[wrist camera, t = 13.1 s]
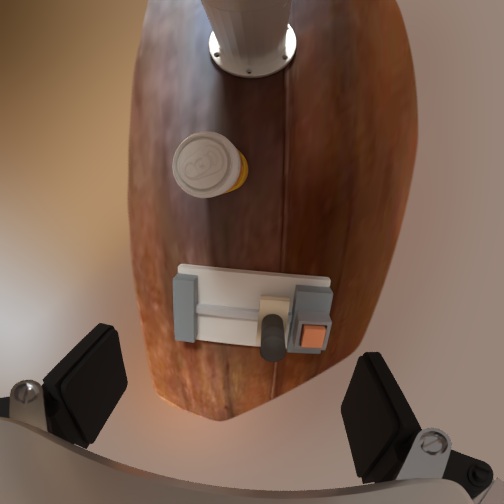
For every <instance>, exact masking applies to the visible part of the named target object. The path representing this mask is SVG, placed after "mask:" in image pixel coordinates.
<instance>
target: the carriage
mask: <svg viewBox="0 0 504 504" xmlns="http://www.w3.org/2000/svg"><path fill="white" fill-rule="evenodd" d="M289 306H290V299H289V297H278V296H267V295H260V304H259V315H258V324H257V334H256V343H261V347H260V354H261V356H262V358H263V359H265V360H266V361H269V362H277V361H280V360H281V359H283V358H284V356H285V354H286V346H285V332H286V326H287V319H288V312H289Z"/></svg>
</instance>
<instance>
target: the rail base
mask: <svg viewBox="0 0 504 504" xmlns="http://www.w3.org/2000/svg"><path fill="white" fill-rule="evenodd" d="M330 282H331V280H330V278H329V277H322V276H310V275H297V274H286V273H274V272H263V271H252V270H241V269H231V268H220V267H210V266H200V265H190V264H180V265H179V266H178V274H177V275H176V276H175V277H174V278H173V308H174V330H175V340H179V341H185V342H192V343H194V342H195V339H197V340H204V341H212V342H220V343H228V344H238V345H248V346H259V347H261V343H256V334H257V324H258V315H259V304H260V295H267V296H278V297H289V299H290V306H289V312H288V319H287V326H286V332H285V346H286V349H287V352H289V353H311V354H320V352H321V350H326V346H327V342H328V337H329V333H330V329H331V325H332V321H331V319H330V316H329V313H330V308H331V303H332V298H333V292H332V290H331V289H330ZM302 324H309V325H324V326H325V329H326V333H325V337H324V341H323V345H322V348H312V347H301V342H300V334H301V329H302Z"/></svg>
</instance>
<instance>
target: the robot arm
mask: <svg viewBox="0 0 504 504" xmlns="http://www.w3.org/2000/svg"><path fill="white" fill-rule="evenodd" d="M201 2H202V4H203V7H204V9H205V12H206V14H207V17H208V19H209V22H210V24H211V27H212V29H213V31H212V33H211V35H210V39H209V51H210V54H211V56H212V58H213V60H214V61H215V63H216V64H217V65H218V66H219V67H220V68H221V69H223V70H224V71H226V72H227V73H230V74H232V75H234V76H238V77H242V78H261V77H265V76H269V75H272V74H274V73H276V72H278V71H280V70H282V69H283V68H284V67H285V66H286V65H288V63H289V62H290V61H291V60H292V58H293V56H294V53H295V50H296V36H295V33H294V31H293V29H292V28H291V26H290V25H289V24H288V22H289V15H290V7H291V0H201ZM217 56H219V57H217ZM283 59H286V60H283ZM248 72H251V74H248ZM43 382H44V384H43V385H42V386H41V385H40V384H39V383H38V382H36V381H33V380H24V381H20V382H18V383H17V384H15V385H14V386H13V388H12V389H11V393H10V397H4V398H0V504H504V482H503V481H502V480H500V479H499V478H496V479H495V480H494V479H493V471H492V469H491V467H490V466H489V465H488V464H487V463H485V462H484V461H481V460H478V459H475V458H472V457H470V456H467V455H464V454H461V453H459V452H456V451H454V450H451V445H452V443H451V440H450V438H449V436H448V435H447V434H446V433H445V432H443V431H442V430H440V429H436V428H427V429H423V430H422V429H421V427H420V425H419V423H418V421H417V419H416V417H415V415H414V413H413V412H412V409H411V408H410V406H409V404H408V402H407V400H406V398H405V396H404V395H403V393H402V391H401V389H400V387H399V386H398V384H397V382H396V380H395V378H394V377H393V375H392V373H391V371H390V369H389V368H388V366H387V364H386V362H385V361H384V359H383V357H382V356H381V354H380V353H379V352H366V353H364V354H363V356H360V357H359V358H358V361H357V365H356V367H355V370H354V373H353V376H352V379H351V381H350V384H349V387H348V389H347V392H346V395H345V397H344V400H343V402H342V405H341V414H342V417H343V421H344V425H345V429H346V433H347V437H348V441H349V445H350V449H351V453H352V457H353V461H354V465H355V469H356V473H357V476H358V477H361V478H362V482H363V484H365V483H371V482H375V483H374V484H368V485H361V486H354V487H346V488H335V489H323V490H307V491H266V490H249V489H237V488H227V487H219V486H212V485H206V484H200V483H194V482H189V481H184V480H179V479H174V478H170V477H165V476H162V475H158V474H154V473H151V472H147V471H143V470H140V469H137V468H134V467H130V466H127V465H124V464H121V463H118V462H116V461H113V460H110V459H107V458H105V457H102V456H100V455H97V454H94V453H92V452H90V451H88V450H85V449H87V447H88V446H89V444H92V443H94V441H95V440H96V438H97V436H98V434H99V433H100V431H101V429H102V428H103V426H104V424H105V423H106V421H107V419H108V418H109V416H110V414H111V413H112V411H113V409H114V408H115V406H116V404H117V403H118V401H119V400H120V398H121V396H122V394H123V393H124V391H125V390H126V387H127V383H128V381H127V376H126V372H125V367H124V363H123V358H122V353H121V348H120V342H119V337H118V332H117V331H116V330H115V329H114V327H113V326H111V325H106V324H102V323H99V324H98V325H97V326H96V327H95V328H94V329H93V330H92V331H91V332H89V334H88V335H86V336H85V337H84V338H83V339H82V340H81V341H80V342H79V343H78V344H77V345H76V346H75V347H74V348H73V349H72V350H71V351H70V352H69V353H68V354H67V355H66V356H65V357H64V358H63V359H62V360H61V361H60V363H58V364H57V365H56V366H55V367H54V368H53V369H52V370H51V371H50V372H49V373H48V375H47V376H46V377H45V378H44V379H43ZM74 444H76V445H79V446H81V447H83V448H85V449H83V448H81V447H78V446H76V445H74Z"/></svg>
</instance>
